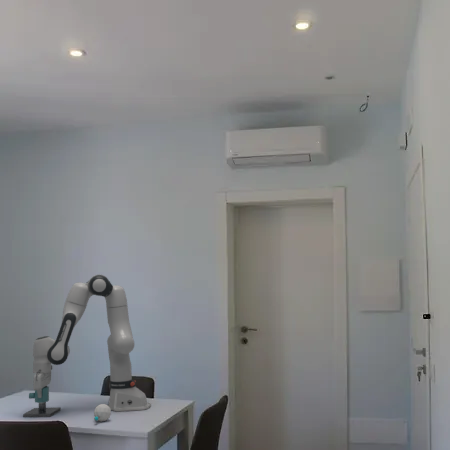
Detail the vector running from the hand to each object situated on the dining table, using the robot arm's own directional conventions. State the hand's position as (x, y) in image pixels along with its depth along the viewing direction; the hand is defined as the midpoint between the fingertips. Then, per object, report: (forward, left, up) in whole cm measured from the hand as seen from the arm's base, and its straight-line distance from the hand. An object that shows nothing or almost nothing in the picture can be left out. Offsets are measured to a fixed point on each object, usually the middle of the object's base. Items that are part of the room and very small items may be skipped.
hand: (42, 396), depth 302 cm
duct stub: (0, 0, -9) cm, 9 cm away
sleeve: (+2, 0, -3) cm, 3 cm away
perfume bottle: (-36, +18, -9) cm, 41 cm away
